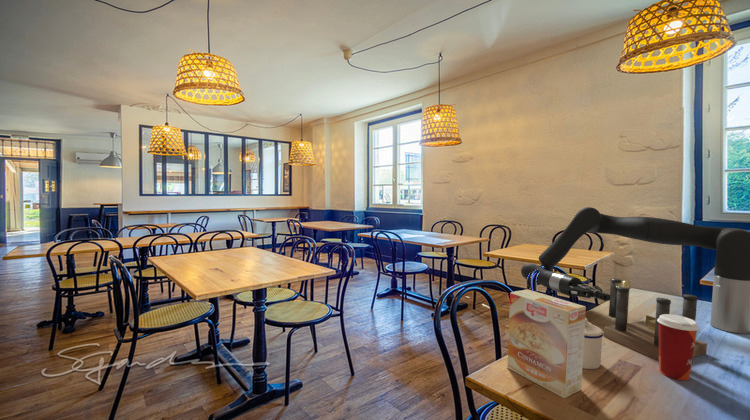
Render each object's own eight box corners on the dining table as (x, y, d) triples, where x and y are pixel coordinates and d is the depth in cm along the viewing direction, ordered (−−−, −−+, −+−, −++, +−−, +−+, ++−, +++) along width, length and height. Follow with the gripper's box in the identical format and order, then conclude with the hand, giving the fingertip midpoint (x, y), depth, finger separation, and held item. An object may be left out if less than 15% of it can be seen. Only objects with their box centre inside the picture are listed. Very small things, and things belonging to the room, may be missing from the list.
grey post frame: (607, 314, 116) (609, 273, 115) (617, 315, 115) (619, 274, 114) (619, 326, 106) (621, 281, 105) (630, 327, 105) (633, 282, 104)
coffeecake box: (506, 368, 87) (508, 292, 85) (524, 361, 90) (527, 288, 89) (564, 399, 74) (568, 311, 73) (582, 390, 77) (587, 305, 76)
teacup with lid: (608, 364, 89) (610, 320, 88) (590, 374, 84) (592, 327, 84) (562, 346, 99) (564, 306, 99) (544, 353, 94) (546, 312, 94)
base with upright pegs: (642, 329, 112) (645, 282, 111) (706, 354, 96) (710, 298, 95) (603, 336, 106) (606, 286, 105) (664, 362, 90) (668, 304, 89)
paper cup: (703, 384, 80) (707, 326, 79) (665, 380, 82) (669, 323, 81) (680, 367, 88) (684, 314, 87) (646, 364, 89) (650, 311, 89)
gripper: (552, 275, 130) (594, 288, 114) (578, 273, 134) (623, 285, 118) (551, 295, 131) (593, 310, 114) (578, 292, 135) (621, 306, 118)
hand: (608, 297), depth 116 cm, fingers closed
